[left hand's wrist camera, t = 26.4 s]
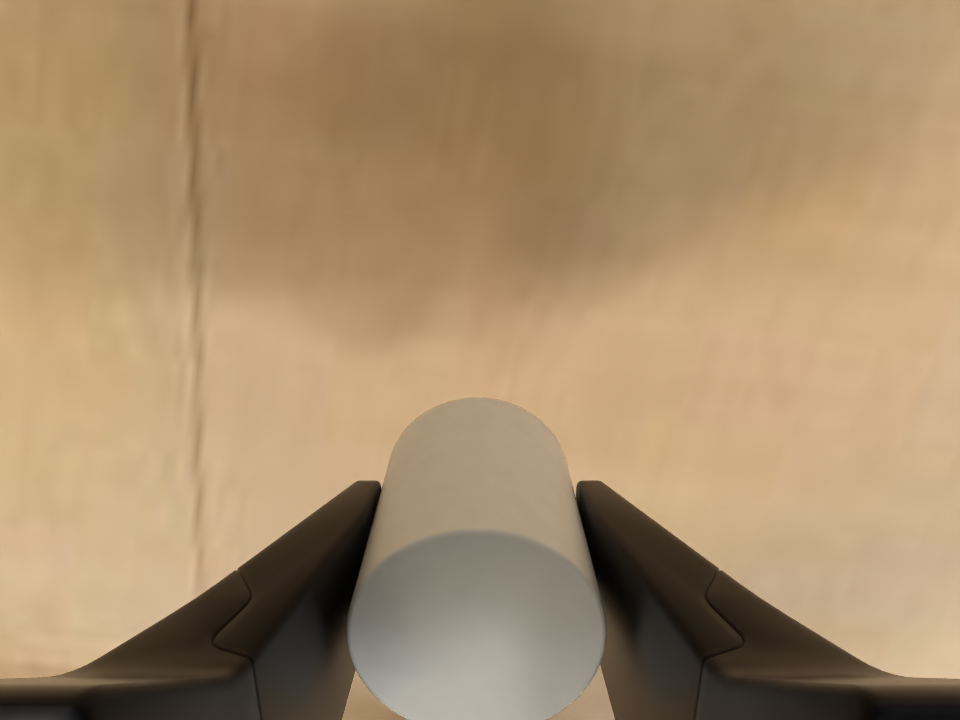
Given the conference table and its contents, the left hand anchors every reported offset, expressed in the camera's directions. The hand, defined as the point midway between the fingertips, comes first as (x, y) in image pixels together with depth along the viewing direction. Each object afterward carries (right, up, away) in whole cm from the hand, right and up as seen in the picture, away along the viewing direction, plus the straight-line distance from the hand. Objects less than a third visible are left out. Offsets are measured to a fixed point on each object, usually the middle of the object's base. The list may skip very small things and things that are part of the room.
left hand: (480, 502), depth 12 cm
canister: (0, 0, +1) cm, 1 cm away
